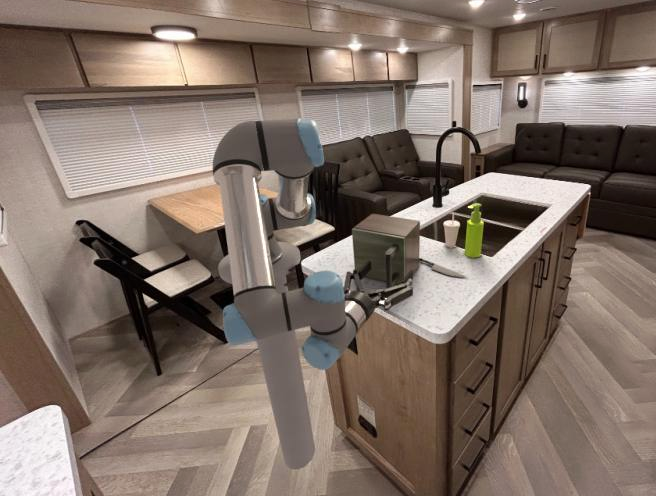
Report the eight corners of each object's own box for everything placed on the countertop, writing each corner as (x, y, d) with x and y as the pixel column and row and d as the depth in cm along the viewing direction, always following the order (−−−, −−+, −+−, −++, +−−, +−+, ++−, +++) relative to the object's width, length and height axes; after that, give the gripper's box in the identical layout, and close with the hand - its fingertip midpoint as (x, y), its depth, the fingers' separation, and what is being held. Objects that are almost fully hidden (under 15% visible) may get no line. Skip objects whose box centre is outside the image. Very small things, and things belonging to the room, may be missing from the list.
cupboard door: (395, 298, 96) (394, 248, 89) (344, 284, 102) (339, 238, 96) (405, 284, 103) (405, 237, 96) (356, 272, 109) (353, 228, 103)
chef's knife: (462, 281, 104) (466, 277, 106) (462, 279, 103) (466, 274, 105) (414, 263, 115) (419, 259, 117) (414, 260, 114) (419, 256, 116)
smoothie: (449, 250, 123) (451, 217, 118) (439, 244, 128) (440, 211, 123) (461, 246, 126) (464, 213, 121) (451, 240, 131) (453, 208, 126)
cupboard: (405, 284, 103) (405, 236, 96) (356, 272, 109) (353, 227, 103) (419, 264, 114) (420, 220, 107) (374, 255, 120) (372, 213, 114)
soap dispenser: (459, 253, 121) (463, 204, 113) (472, 248, 125) (476, 200, 117) (471, 260, 117) (475, 208, 109) (483, 254, 120) (489, 204, 113)
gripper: (313, 312, 83) (354, 271, 101) (401, 339, 74) (429, 289, 92) (309, 287, 80) (353, 250, 98) (401, 312, 71) (430, 266, 89)
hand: (390, 269), depth 95 cm, fingers open, 13 cm apart
